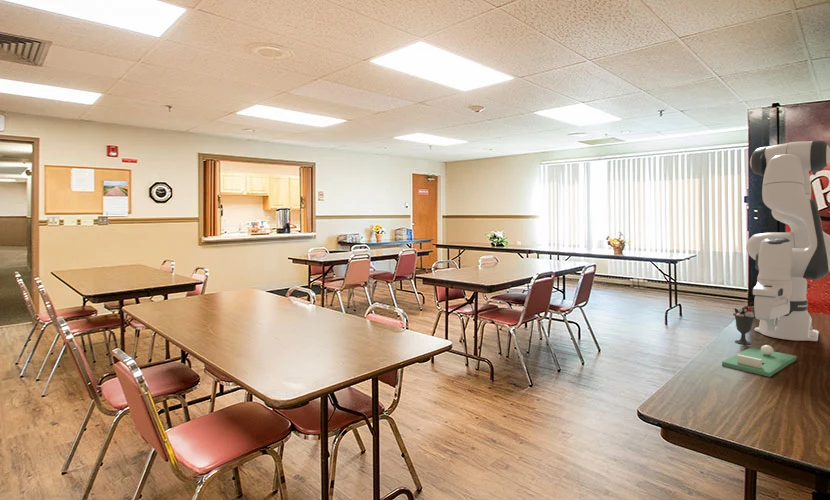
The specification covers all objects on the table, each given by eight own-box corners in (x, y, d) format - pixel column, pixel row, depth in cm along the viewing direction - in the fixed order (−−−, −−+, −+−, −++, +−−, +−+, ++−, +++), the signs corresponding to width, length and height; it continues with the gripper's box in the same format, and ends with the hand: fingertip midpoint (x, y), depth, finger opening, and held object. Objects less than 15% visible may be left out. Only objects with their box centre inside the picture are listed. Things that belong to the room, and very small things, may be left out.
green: (751, 350, 151) (751, 340, 151) (796, 359, 141) (797, 348, 141) (722, 365, 137) (722, 354, 137) (769, 376, 127) (770, 364, 127)
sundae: (758, 345, 156) (761, 303, 154) (737, 345, 157) (739, 303, 156) (748, 340, 162) (750, 300, 161) (728, 339, 163) (730, 299, 162)
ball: (762, 352, 145) (763, 343, 144) (774, 355, 142) (775, 345, 142) (758, 354, 143) (759, 345, 143) (771, 357, 140) (771, 347, 140)
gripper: (773, 284, 152) (771, 324, 152) (750, 289, 140) (748, 333, 141) (796, 286, 147) (795, 328, 147) (775, 292, 135) (773, 337, 136)
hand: (772, 330), depth 144 cm, fingers closed
